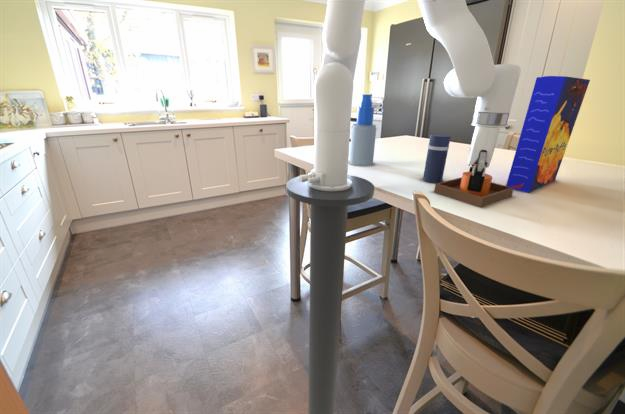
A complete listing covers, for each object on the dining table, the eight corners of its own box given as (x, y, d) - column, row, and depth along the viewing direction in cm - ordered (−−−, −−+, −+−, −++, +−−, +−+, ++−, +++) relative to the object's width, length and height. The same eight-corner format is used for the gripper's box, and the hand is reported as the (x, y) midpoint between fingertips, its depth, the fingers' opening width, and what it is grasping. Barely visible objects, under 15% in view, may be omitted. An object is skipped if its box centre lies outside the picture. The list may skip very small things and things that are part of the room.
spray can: (434, 184, 86) (443, 137, 81) (418, 179, 90) (426, 134, 85) (445, 181, 89) (454, 136, 83) (430, 177, 93) (437, 133, 88)
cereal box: (528, 192, 79) (566, 75, 68) (505, 187, 84) (537, 76, 73) (554, 180, 91) (590, 78, 80) (533, 176, 96) (564, 79, 85)
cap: (478, 198, 73) (483, 180, 71) (453, 191, 78) (457, 173, 76) (492, 194, 76) (497, 176, 75) (467, 187, 82) (471, 170, 80)
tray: (481, 207, 69) (483, 197, 68) (433, 192, 79) (435, 183, 78) (511, 196, 76) (514, 187, 75) (464, 183, 87) (466, 176, 86)
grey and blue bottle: (376, 162, 111) (383, 94, 102) (367, 167, 104) (374, 94, 95) (355, 159, 116) (360, 94, 106) (345, 163, 109) (350, 93, 99)
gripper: (472, 117, 79) (459, 176, 85) (472, 122, 65) (457, 192, 71) (503, 118, 76) (487, 180, 82) (511, 124, 62) (491, 197, 68)
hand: (473, 185), depth 77 cm, fingers open, 9 cm apart
